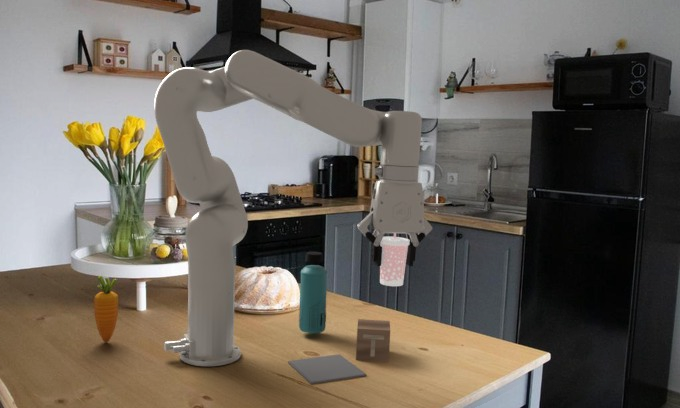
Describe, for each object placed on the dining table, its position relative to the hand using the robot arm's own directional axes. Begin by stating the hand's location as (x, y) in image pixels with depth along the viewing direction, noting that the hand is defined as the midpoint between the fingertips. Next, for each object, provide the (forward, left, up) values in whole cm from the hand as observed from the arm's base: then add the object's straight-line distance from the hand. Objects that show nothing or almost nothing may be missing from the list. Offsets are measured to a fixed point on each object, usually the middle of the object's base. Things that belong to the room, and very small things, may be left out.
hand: (392, 264), depth 127 cm
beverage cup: (0, 0, -4) cm, 4 cm away
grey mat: (-11, +6, -23) cm, 26 cm away
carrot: (-50, +37, -23) cm, 66 cm away
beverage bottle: (-5, +27, -23) cm, 36 cm away
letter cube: (+2, +10, -23) cm, 25 cm away
